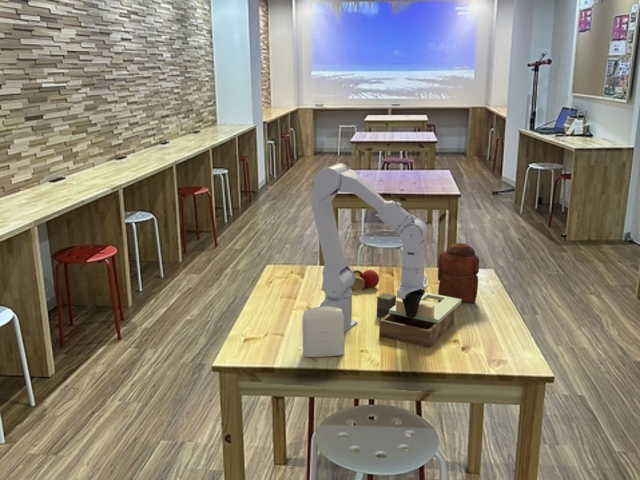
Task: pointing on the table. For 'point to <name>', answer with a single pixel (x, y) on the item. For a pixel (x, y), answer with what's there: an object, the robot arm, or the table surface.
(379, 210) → the robot arm
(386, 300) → the dark brown block
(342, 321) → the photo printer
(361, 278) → the kendama
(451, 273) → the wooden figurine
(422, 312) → the lid
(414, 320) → the brown wooden box
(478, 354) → the table surface
